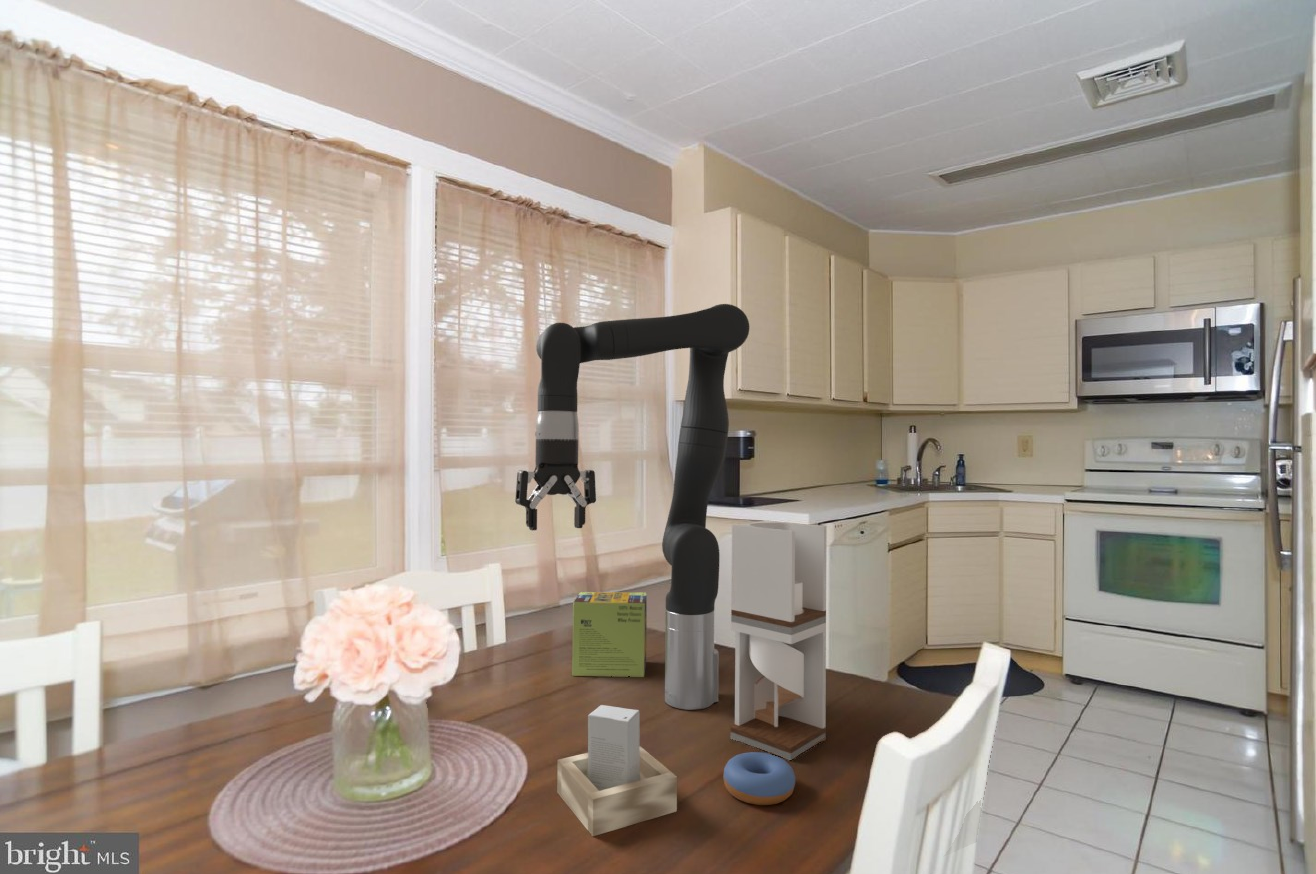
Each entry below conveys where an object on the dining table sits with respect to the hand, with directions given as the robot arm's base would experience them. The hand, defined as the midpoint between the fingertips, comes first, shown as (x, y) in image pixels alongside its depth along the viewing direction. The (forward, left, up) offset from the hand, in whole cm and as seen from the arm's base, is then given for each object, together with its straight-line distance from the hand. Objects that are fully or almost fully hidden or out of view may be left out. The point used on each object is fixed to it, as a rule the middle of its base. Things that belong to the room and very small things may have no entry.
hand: (556, 528), depth 120 cm
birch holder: (+3, +31, -33) cm, 45 cm away
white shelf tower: (-29, +26, -33) cm, 51 cm away
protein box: (-20, -19, -33) cm, 43 cm away
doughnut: (-16, +38, -34) cm, 53 cm away
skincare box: (+3, +31, -33) cm, 46 cm away
